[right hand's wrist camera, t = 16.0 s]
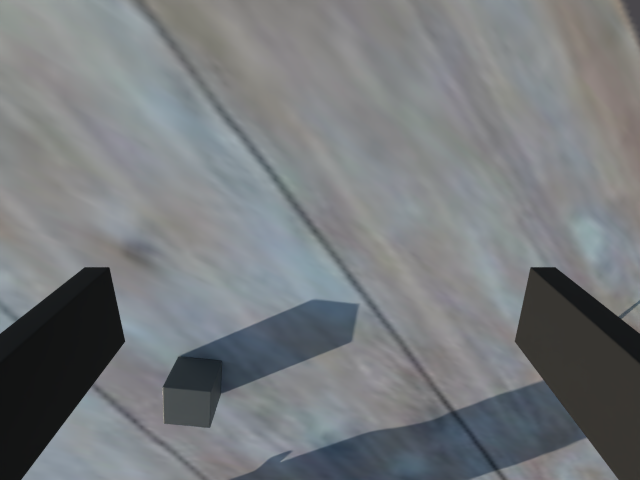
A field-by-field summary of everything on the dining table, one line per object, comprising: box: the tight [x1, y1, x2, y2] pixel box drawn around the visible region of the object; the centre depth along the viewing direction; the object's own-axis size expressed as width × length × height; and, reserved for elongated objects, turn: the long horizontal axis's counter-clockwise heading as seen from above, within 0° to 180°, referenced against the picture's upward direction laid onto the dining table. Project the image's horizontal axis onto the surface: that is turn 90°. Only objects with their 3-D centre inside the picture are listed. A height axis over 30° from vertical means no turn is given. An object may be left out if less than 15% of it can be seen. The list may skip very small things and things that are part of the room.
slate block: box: [163, 357, 222, 428], centre depth 45 cm, size 5×5×5 cm
